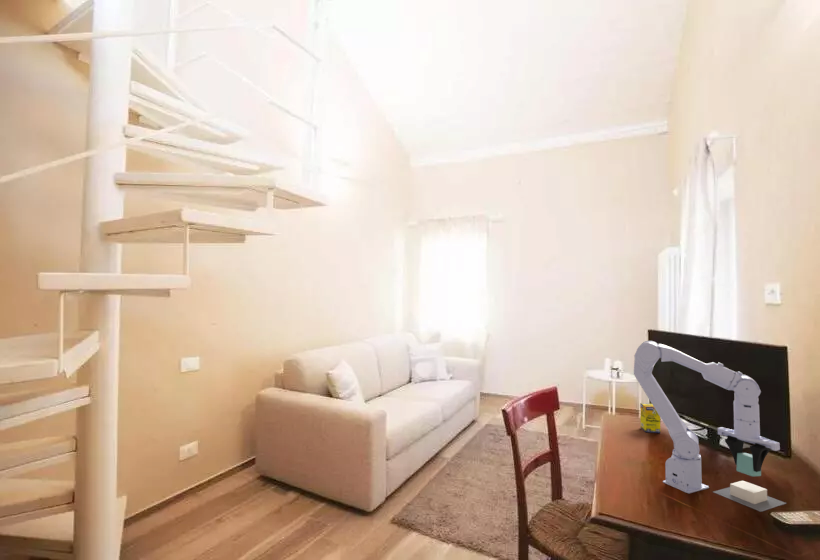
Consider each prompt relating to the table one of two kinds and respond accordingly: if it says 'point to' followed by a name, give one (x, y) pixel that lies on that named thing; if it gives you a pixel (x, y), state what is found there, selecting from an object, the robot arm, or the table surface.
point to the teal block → (746, 464)
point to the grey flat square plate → (759, 506)
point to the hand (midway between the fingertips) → (747, 467)
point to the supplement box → (649, 418)
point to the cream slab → (748, 492)
